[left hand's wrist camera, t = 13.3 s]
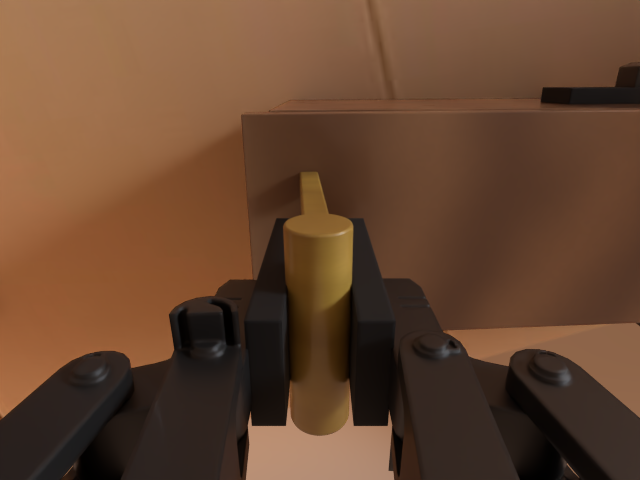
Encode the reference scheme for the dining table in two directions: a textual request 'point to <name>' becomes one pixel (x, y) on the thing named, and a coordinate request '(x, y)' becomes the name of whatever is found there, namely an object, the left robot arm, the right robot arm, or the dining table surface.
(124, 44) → the dining table surface
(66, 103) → the dining table surface
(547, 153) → the lid
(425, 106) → the chest
